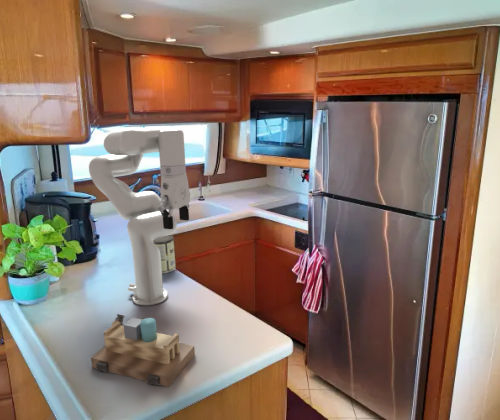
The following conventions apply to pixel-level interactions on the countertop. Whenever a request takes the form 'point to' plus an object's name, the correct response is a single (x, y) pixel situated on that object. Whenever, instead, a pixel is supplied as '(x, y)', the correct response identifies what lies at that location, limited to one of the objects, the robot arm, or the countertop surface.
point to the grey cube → (133, 329)
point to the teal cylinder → (148, 330)
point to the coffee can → (166, 253)
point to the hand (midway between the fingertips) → (176, 224)
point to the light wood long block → (142, 345)
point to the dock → (144, 365)
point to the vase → (118, 319)
